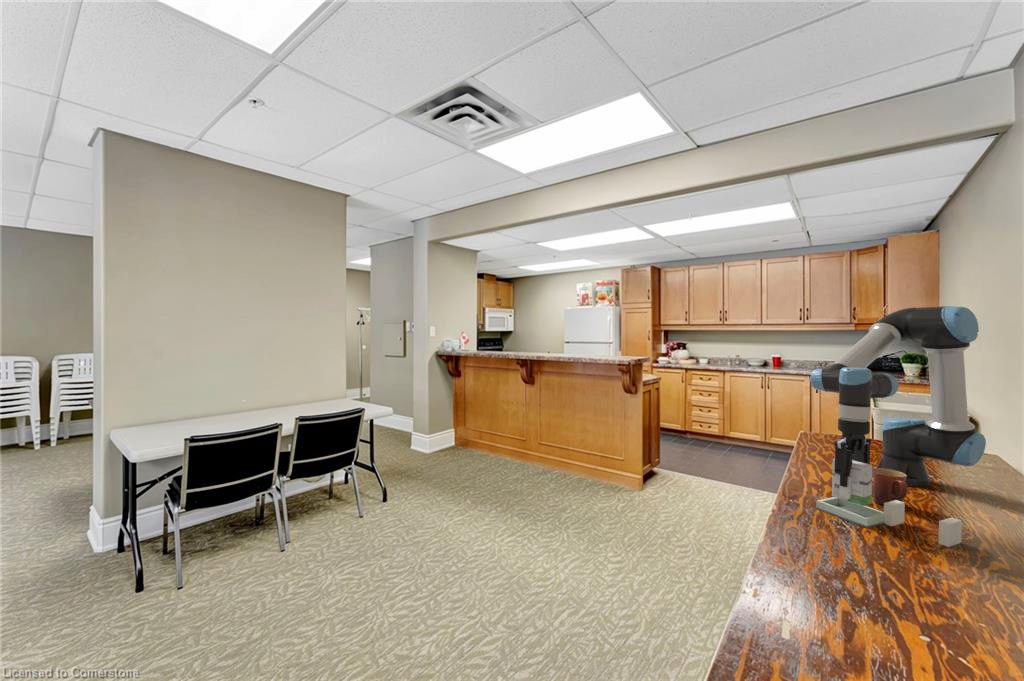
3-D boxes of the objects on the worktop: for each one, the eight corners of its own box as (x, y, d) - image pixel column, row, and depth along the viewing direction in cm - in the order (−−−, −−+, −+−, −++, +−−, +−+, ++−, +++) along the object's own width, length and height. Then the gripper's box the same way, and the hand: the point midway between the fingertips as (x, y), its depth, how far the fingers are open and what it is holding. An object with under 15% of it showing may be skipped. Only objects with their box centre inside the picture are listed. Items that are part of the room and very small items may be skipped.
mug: (864, 497, 144) (865, 467, 144) (894, 499, 142) (895, 469, 142) (887, 512, 132) (888, 479, 132) (920, 515, 131) (922, 481, 130)
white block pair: (895, 520, 127) (896, 500, 127) (961, 542, 114) (961, 520, 113) (883, 523, 125) (884, 502, 125) (948, 547, 111) (949, 524, 111)
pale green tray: (837, 504, 138) (837, 496, 138) (888, 522, 125) (888, 513, 125) (816, 508, 135) (816, 500, 135) (866, 528, 122) (867, 519, 122)
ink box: (872, 503, 127) (874, 464, 127) (863, 506, 125) (864, 466, 125) (839, 493, 135) (841, 456, 134) (830, 496, 133) (831, 458, 132)
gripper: (859, 414, 136) (856, 487, 137) (820, 418, 129) (818, 495, 130) (887, 419, 129) (884, 496, 130) (847, 424, 122) (845, 504, 123)
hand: (851, 495), depth 130 cm, fingers closed on ink box, 5 cm apart
